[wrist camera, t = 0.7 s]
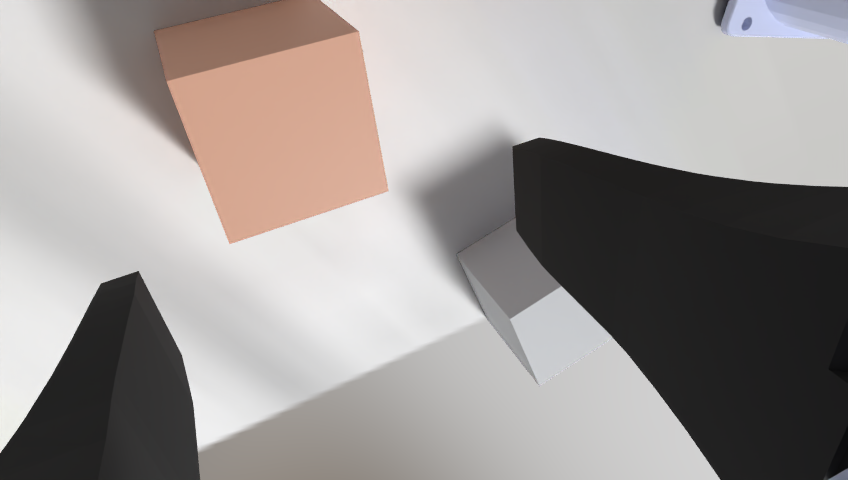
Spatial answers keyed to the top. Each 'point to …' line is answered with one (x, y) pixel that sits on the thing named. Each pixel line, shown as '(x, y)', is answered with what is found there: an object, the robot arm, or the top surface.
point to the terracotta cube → (275, 112)
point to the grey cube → (529, 305)
